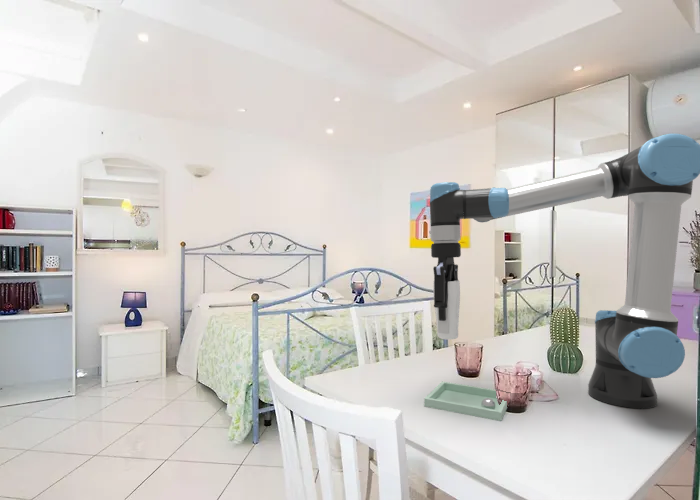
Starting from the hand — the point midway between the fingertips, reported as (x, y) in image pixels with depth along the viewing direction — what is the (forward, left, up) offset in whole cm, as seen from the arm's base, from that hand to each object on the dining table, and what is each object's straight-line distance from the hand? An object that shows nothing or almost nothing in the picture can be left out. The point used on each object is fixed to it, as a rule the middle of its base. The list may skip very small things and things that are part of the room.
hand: (447, 330), depth 107 cm
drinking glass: (0, 0, -2) cm, 2 cm away
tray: (-6, +1, -18) cm, 19 cm away
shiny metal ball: (-11, +5, -18) cm, 21 cm away
